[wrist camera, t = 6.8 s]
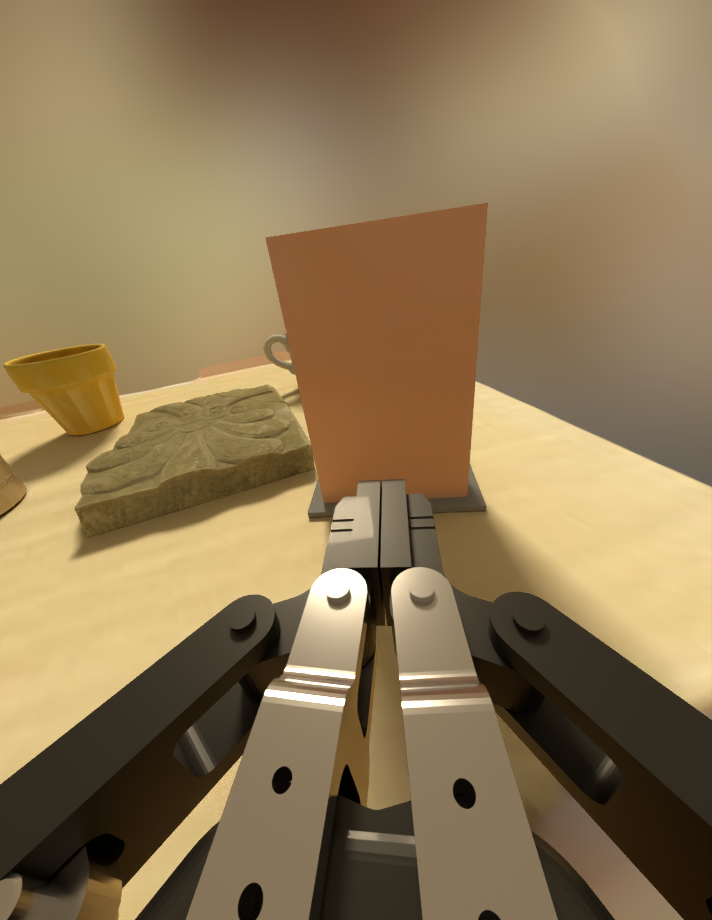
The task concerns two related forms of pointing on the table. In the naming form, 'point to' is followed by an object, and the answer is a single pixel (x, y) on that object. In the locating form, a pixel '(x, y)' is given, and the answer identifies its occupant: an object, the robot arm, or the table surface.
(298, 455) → the decorative tile
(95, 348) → the plant pot
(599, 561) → the table surface
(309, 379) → the terracotta tile
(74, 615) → the table surface
